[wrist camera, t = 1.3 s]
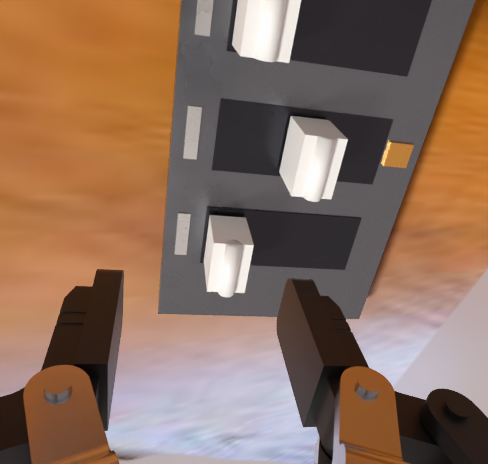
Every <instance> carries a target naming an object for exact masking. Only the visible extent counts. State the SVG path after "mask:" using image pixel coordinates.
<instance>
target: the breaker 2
mask: <svg viewBox="0 0 488 464" xmlns="http://www.w3.org/2000/svg"><path fill="white" fill-rule="evenodd" d="M300 4H301V0H238V2H237V10H236V17H235V25H234V33H233V40H232V45H233V47H234V48H235V50H236V51H237V53H238V54H239V55H240V56H242V57H249V58H255V59H257V60H261V61H265V62H275V61H278V62H285V63H289V61H290V56H291V51H292V46H293V40H294V35H295V30H296V25H297V20H298V15H299V9H300Z"/></svg>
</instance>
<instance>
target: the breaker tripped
mask: <svg viewBox="0 0 488 464" xmlns="http://www.w3.org/2000/svg"><path fill="white" fill-rule="evenodd" d="M347 141H348V139H347V138H346V137H345V136H344V135H343V134H342V133H341V132H340V131H339V130H338V129H337V128H336V127H335V126H334V125H333V124H332V123H331V122H330V121H329V120H323V119H314V118H306V117H297V116H291V117H290V122H289V127H288V132H287V137H286V141H285V146H284V151H283V156H282V161H281V166H280V170H279V173H280V175H281V177H282V179H283V181H284V183H285V185H286V187H287V189H288V191H289V193H290V195H291V196H295V197H303V198H304V199H306V200H308V201H311V202H318V201H320V199H332V195H333V192H334V188H335V185H336V181H337V177H338V174H339V170H340V167H341V163H342V159H343V156H344V152H345V149H346V145H347Z"/></svg>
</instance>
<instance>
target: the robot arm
mask: <svg viewBox="0 0 488 464" xmlns="http://www.w3.org/2000/svg"><path fill="white" fill-rule="evenodd" d="M123 283H124V271H123V270H104V269H97V271H96V275H95V279H94V283H93V287H86V286H76V287H75V288H74V289H73V290H72V291H71V292H70V293H69V294H68V295H67V296H66V297H65V298H64V301H63V304H62V307H61V310H60V314H59V317H58V320H57V324H56V326H55V329H54V332H53V335H52V339H51V342H50V345H49V348H48V351H47V354H46V357H45V360H44V364H43V367H42V369H41V371H40V372H38V373H37V374H36V375H34V376H33V377H32V378H31V379H30V380H29V381H28V383H27V384H26V386H25V388H23V389H21V390H19V391H17V392H15V393H13V394H10V395H6V396H3V397H0V464H119V461H118V458H117V456H116V453H115V452H114V451H111V450H110V448H109V445H108V442H107V438H106V434H105V431H108V424H109V417H110V410H111V402H112V395H113V388H114V381H115V373H116V366H117V359H118V352H119V344H120V337H121V329H122V317H123ZM277 335H278V339H279V343H280V346H281V350H282V353H283V357H284V361H285V364H286V368H287V371H288V375H289V378H290V382H291V386H292V389H293V393H294V396H295V400H296V403H297V407H298V411H299V414H300V418H301V421H302V425H303V427H317V430H318V433H319V437H318V440H317V442H316V447H315V459H314V464H488V418H487V417H486V416H485V415H484V413H483V412H482V411H481V410H480V409H479V408H478V407H477V406H476V405H475V404H474V403H473V402H472V401H471V400H469V399H468V398H466V397H465V396H463V395H462V394H460V393H458V392H455V391H452V390H449V389H436V390H433V391H432V392H431V393H430V394H429V395H428V397H427V399H426V400H424V399H420V398H416V397H413V396H409V395H405V394H402V393H399V392H396V391H394V389H393V387H392V385H391V384H390V382H389V381H388V380H387V379H386V378H385V377H384V376H383V375H381V374H380V373H378V372H377V371H375V370H372V369H370V368H369V367H368V365H367V362H366V360H365V358H364V356H363V354H362V352H361V350H360V348H359V346H358V344H357V342H356V340H355V338H354V335H353V333H352V332H351V329H350V327H349V325H348V323H347V322H346V319H345V317H344V315H343V313H342V311H341V309H340V307H339V306H338V305H337V304H336V303H335V302H334V301H333V300H332V299H331V298H330V297H329V296H320V294H319V291H318V289H317V287H316V285H315V282H314V281H313V280H312V279H297V278H288V279H287V281H286V284H285V288H284V292H283V296H282V300H281V304H280V308H279V312H278V317H277Z"/></svg>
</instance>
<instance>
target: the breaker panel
mask: <svg viewBox="0 0 488 464" xmlns="http://www.w3.org/2000/svg"><path fill="white" fill-rule="evenodd" d="M475 1H476V0H301V4H300V9H299V15H298V20H297V25H296V30H295V35H294V40H293V46H292V51H291V56H290V61H289V63H285V62H278V61H275V62H265V61H261V60H257V59H255V58H249V57H242V56H240V55H239V54H238V53H237V51H236V50H235V48H234V47H233V45H232V40H233V33H234V25H235V17H236V10H237V2H238V0H181V5H180V19H179V32H178V46H177V59H176V73H175V86H174V100H173V113H172V127H171V140H170V154H169V167H168V181H167V194H166V208H165V221H164V235H163V248H162V262H161V275H160V289H159V307H158V314H190V315H228V316H266V317H278V312H279V308H280V304H281V300H282V296H283V292H284V288H285V284H286V281H287V279H288V278H297V279H312V280H313V281H314V282H315V285H316V287H317V289H318V291H319V294H320V296H329V297H330V298H331V299H332V300H333V301H334V302H335V303H336V304H337V305H338V306H339V307H340V309H341V311H342V313H343V315H344V317H345V319H359V317H360V315H361V312H362V309H363V306H364V304H365V301H366V298H367V295H368V293H369V290H370V287H371V285H372V282H373V279H374V276H375V274H376V271H377V268H378V265H379V263H380V260H381V257H382V255H383V252H384V249H385V246H386V244H387V241H388V238H389V235H390V233H391V230H392V227H393V225H394V222H395V219H396V216H397V214H398V211H399V208H400V205H401V203H402V200H403V197H404V195H405V192H406V189H407V186H408V184H409V181H410V178H411V175H412V173H413V170H414V167H415V165H416V162H417V159H418V156H419V154H420V151H421V148H422V145H423V143H424V140H425V137H426V135H427V132H428V129H429V126H430V124H431V121H432V118H433V115H434V113H435V110H436V107H437V105H438V102H439V99H440V96H441V94H442V91H443V88H444V85H445V83H446V80H447V77H448V75H449V72H450V69H451V66H452V64H453V61H454V58H455V55H456V53H457V50H458V47H459V45H460V42H461V39H462V36H463V34H464V31H465V28H466V25H467V23H468V20H469V17H470V15H471V12H472V9H473V6H474V4H475ZM291 116H297V117H306V118H314V119H323V120H329V121H330V122H331V123H332V124H333V125H334V126H335V127H336V128H337V129H338V130H339V131H340V132H341V133H342V134H343V135H344V136H345V137H346V138H347V139H348V141H347V145H346V149H345V152H344V156H343V159H342V163H341V167H340V170H339V174H338V177H337V181H336V185H335V188H334V192H333V195H332V199H320V201H318V202H311V201H308V200H306V199H304V198H303V197H295V196H291V195H290V193H289V191H288V189H287V187H286V185H285V183H284V181H283V179H282V177H281V175H280V173H279V170H280V166H281V161H282V156H283V151H284V146H285V141H286V137H287V132H288V127H289V122H290V117H291ZM210 215H217V216H231V217H245V218H246V220H247V223H248V227H249V230H250V234H251V237H252V241H253V244H254V247H253V252H252V257H251V262H250V268H249V273H248V278H247V283H246V288H245V293H234V295H233V296H231V297H222V296H221V295H219V293H218V292H207V287H206V278H205V268H204V255H205V247H206V240H207V232H208V224H209V217H210Z"/></svg>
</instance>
